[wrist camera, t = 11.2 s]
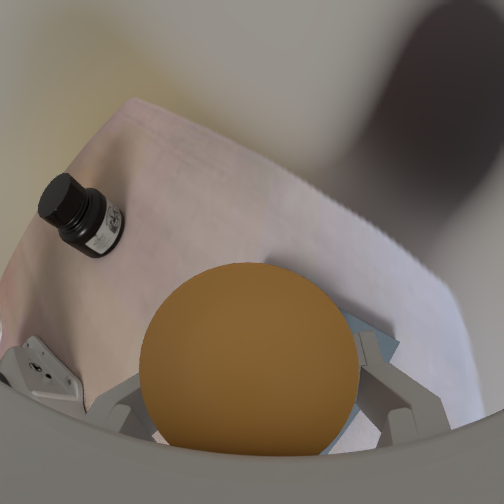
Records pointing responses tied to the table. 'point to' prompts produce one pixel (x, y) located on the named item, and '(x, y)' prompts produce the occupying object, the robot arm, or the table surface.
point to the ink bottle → (81, 216)
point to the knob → (249, 364)
